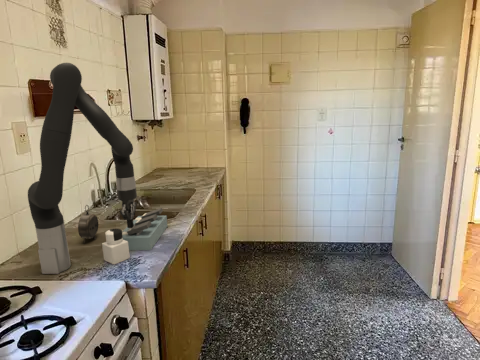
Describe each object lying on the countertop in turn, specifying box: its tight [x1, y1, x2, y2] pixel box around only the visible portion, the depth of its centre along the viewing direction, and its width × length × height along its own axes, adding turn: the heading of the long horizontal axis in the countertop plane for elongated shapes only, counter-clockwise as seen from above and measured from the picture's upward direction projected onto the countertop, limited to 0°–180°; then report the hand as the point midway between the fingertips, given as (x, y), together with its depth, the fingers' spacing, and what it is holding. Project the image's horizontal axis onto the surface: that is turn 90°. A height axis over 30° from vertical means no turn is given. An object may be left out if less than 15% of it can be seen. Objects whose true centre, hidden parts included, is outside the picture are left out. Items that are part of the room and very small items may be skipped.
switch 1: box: [141, 207, 164, 219], centre depth 162 cm, size 5×9×2 cm, turn 87°
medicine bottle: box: [101, 228, 131, 265], centre depth 133 cm, size 7×7×12 cm
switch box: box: [122, 215, 168, 251], centre depth 154 cm, size 27×14×7 cm, turn 177°
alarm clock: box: [77, 204, 99, 244], centre depth 153 cm, size 11×5×16 cm, turn 177°
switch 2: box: [135, 214, 158, 226], centre depth 153 cm, size 5×9×2 cm, turn 87°
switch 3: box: [127, 221, 151, 235], centre depth 144 cm, size 5×9×2 cm, turn 87°
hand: (130, 227), depth 144 cm, fingers closed
